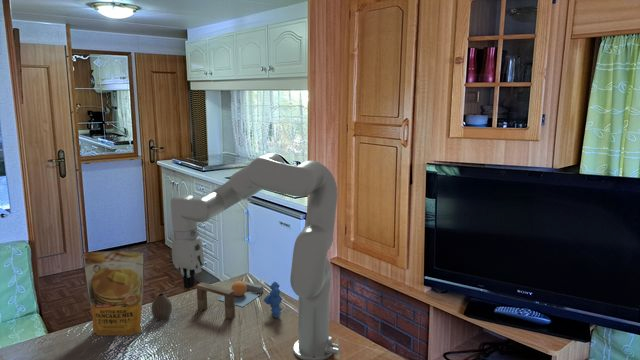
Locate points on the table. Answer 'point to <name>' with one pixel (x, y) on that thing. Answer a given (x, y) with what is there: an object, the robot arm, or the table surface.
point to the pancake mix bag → (115, 291)
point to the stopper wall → (254, 287)
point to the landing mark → (242, 299)
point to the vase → (161, 307)
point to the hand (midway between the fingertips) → (189, 286)
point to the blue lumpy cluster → (274, 299)
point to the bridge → (227, 293)
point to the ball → (239, 288)
